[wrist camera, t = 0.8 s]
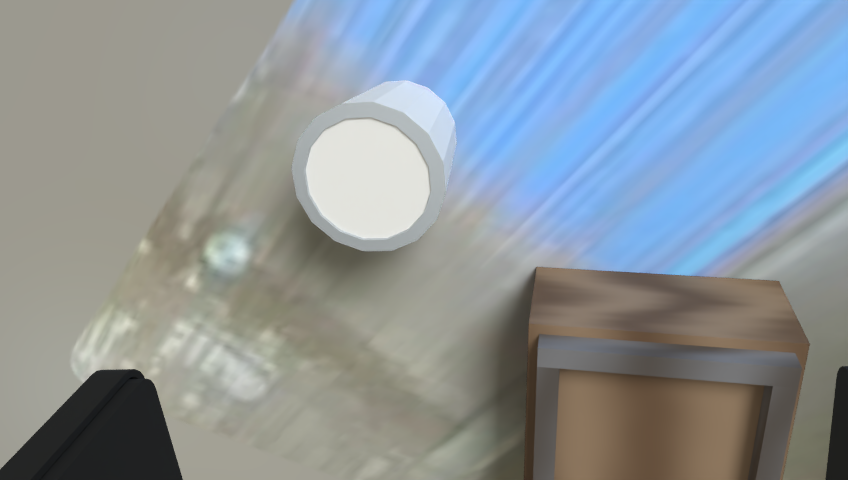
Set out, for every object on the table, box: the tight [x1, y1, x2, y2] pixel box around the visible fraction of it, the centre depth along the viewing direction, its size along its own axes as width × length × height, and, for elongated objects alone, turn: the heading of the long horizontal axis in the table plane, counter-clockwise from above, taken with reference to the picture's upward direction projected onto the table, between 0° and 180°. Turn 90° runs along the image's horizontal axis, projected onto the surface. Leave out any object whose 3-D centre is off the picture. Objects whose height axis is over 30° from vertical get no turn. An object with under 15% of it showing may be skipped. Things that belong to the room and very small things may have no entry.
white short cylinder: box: [292, 80, 457, 251], centre depth 36 cm, size 7×7×7 cm
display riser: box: [524, 267, 810, 480], centre depth 39 cm, size 12×12×7 cm
